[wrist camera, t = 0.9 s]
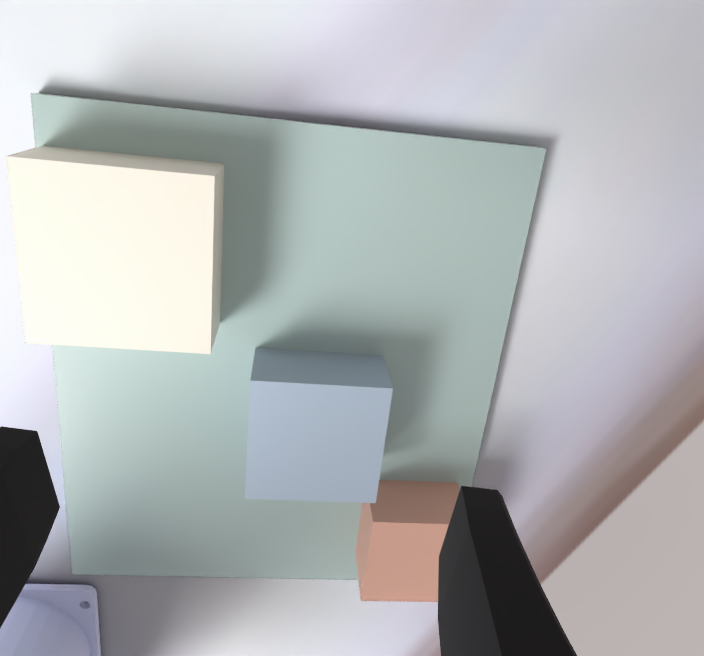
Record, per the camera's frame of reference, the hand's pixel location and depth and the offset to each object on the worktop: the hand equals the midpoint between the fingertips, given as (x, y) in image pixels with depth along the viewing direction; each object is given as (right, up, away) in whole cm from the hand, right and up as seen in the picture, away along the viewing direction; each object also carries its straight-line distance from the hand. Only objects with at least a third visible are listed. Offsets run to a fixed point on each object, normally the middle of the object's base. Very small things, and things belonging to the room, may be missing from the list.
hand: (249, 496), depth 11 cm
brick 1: (-7, +6, +13) cm, 16 cm away
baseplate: (-1, +1, +17) cm, 17 cm away
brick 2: (0, -1, +17) cm, 17 cm away
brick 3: (+4, -6, +20) cm, 21 cm away
